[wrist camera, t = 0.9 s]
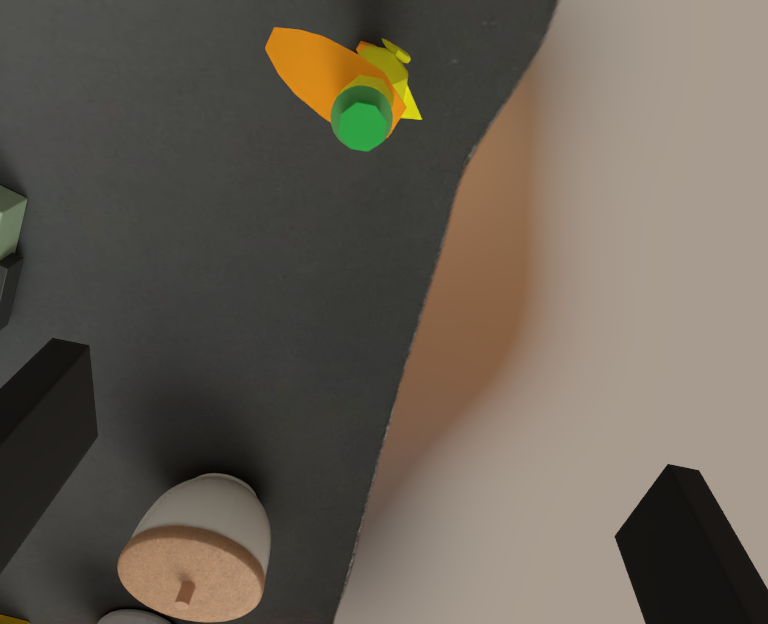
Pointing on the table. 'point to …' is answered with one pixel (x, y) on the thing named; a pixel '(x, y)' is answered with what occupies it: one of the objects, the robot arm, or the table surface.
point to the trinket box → (200, 551)
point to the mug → (132, 617)
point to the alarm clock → (11, 620)
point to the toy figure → (346, 83)
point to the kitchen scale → (9, 248)
